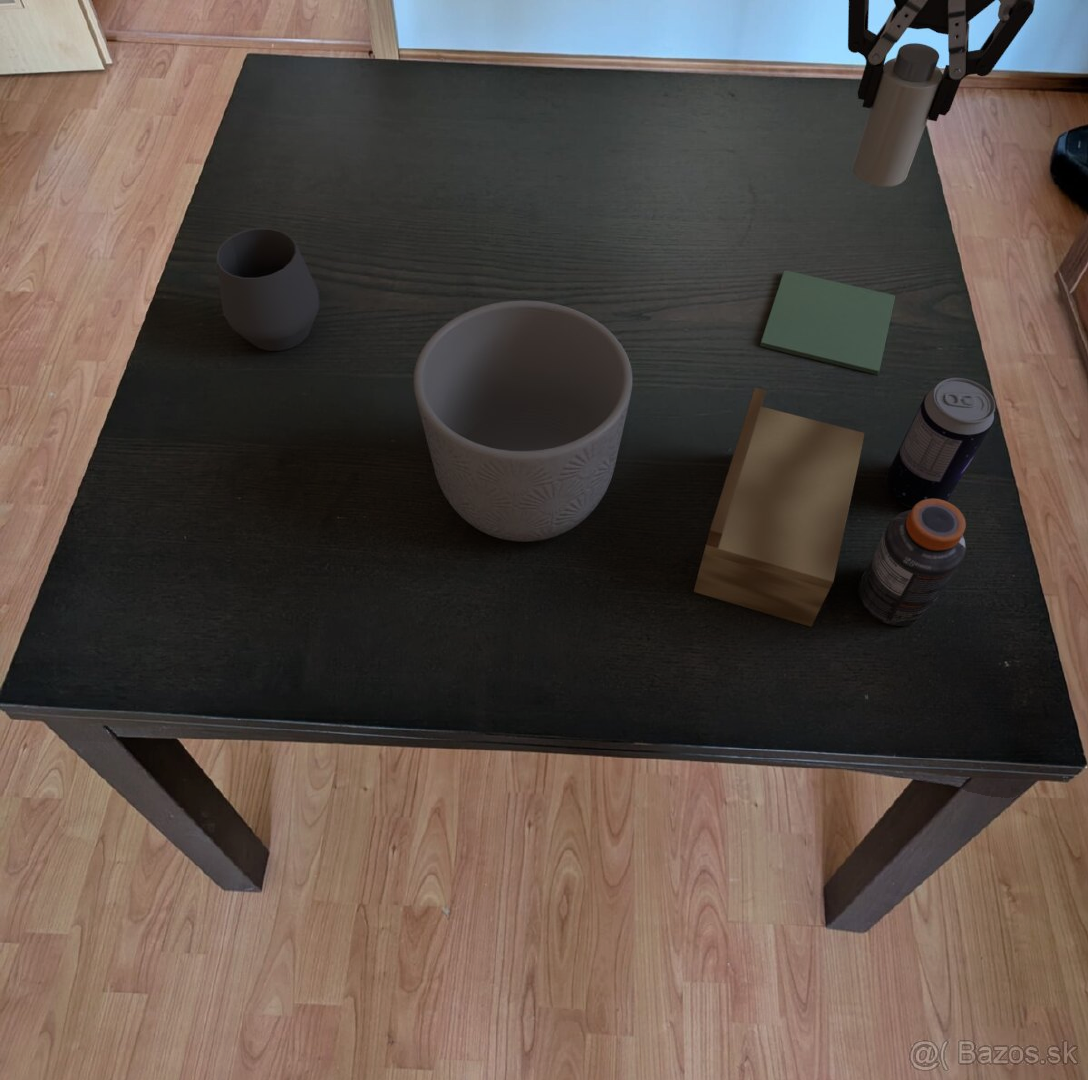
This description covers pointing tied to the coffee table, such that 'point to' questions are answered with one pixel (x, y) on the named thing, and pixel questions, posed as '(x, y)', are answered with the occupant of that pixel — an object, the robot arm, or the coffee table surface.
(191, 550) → the coffee table surface
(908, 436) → the beverage can
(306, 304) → the cup
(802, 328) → the mat
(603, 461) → the planter
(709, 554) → the stepped wooden block
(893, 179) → the spice bottle
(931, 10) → the robot arm
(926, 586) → the pill bottle
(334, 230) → the coffee table surface
